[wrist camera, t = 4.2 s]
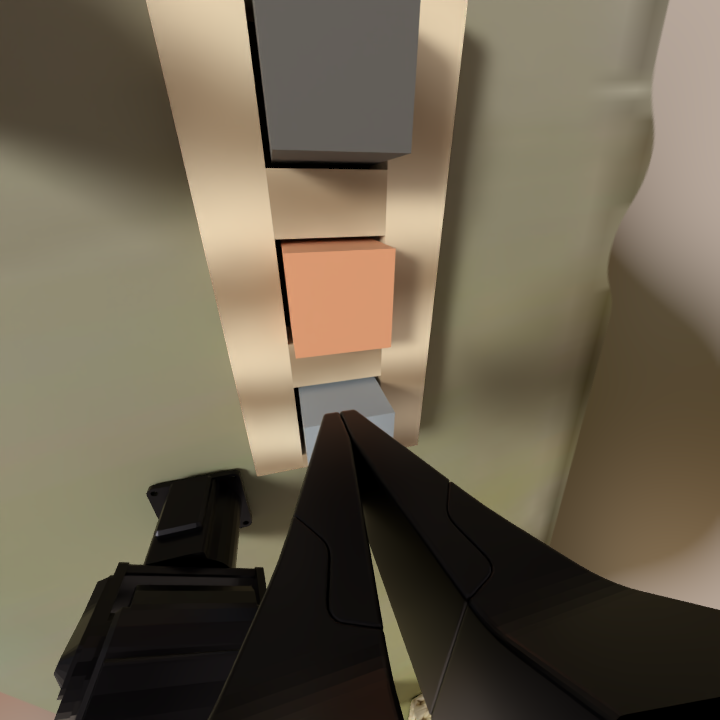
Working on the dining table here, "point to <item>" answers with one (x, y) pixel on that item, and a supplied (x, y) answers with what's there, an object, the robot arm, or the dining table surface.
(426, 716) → the storage basket
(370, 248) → the orange cube
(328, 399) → the blue-grey cube
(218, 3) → the birch panel
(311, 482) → the robot arm
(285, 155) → the dark grey cube
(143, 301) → the dining table surface
